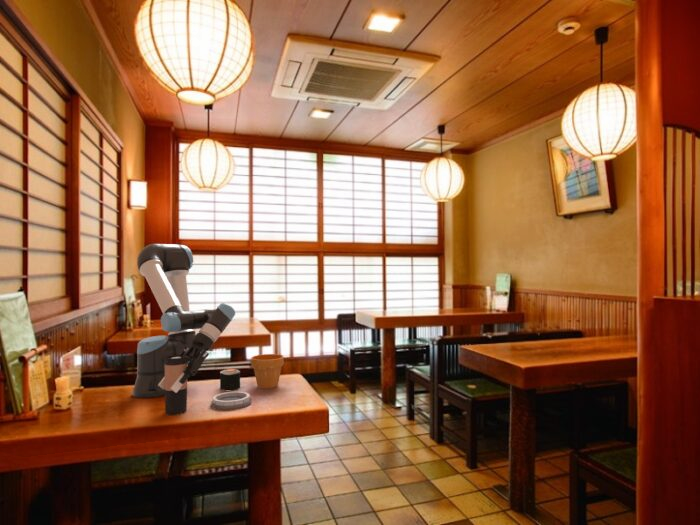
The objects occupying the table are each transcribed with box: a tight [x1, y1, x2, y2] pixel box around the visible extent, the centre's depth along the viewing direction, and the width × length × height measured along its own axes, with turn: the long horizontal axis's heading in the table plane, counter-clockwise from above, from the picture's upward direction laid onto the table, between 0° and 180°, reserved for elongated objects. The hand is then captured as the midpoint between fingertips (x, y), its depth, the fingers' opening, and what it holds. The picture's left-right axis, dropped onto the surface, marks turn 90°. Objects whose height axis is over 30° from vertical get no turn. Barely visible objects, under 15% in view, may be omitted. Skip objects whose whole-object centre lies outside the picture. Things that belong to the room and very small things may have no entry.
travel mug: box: [164, 355, 188, 416], centre depth 156 cm, size 8×8×20 cm
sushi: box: [219, 368, 241, 391], centre depth 189 cm, size 8×8×8 cm
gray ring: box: [210, 391, 252, 411], centre depth 165 cm, size 15×15×3 cm
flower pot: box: [250, 353, 285, 389], centre depth 191 cm, size 14×14×13 cm
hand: (167, 388), depth 154 cm, fingers closed on travel mug, 7 cm apart
